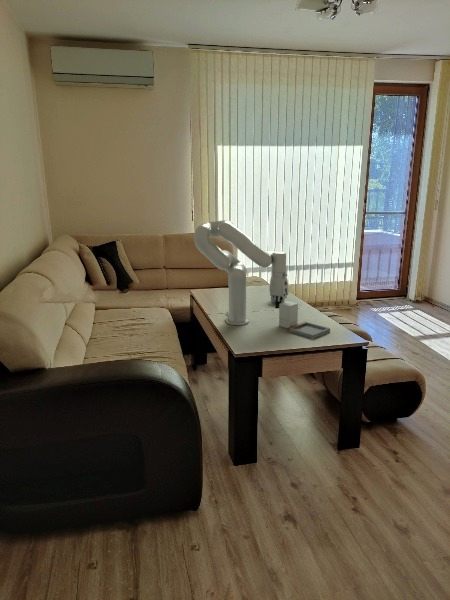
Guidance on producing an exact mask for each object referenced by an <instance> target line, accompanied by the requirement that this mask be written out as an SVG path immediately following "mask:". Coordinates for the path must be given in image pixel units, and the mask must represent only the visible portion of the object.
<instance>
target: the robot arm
mask: <svg viewBox="0 0 450 600" xmlns="http://www.w3.org/2000/svg"><path fill="white" fill-rule="evenodd" d="M217 237H222V238H223V239H225V241H227V242H228V243H229V244H231V245H232V246H234V247H235V248H236V249H238V250H239V251H240V252H241V253H242V254H243V255H244V256H246V257H247V258H248V259H249V260H251V261H252V262H253V263H255V264H256V265H257V266H259V267H261V268H265V269H266V268H268V267H270V266H271V277H270V280H269V289H268V290H269V295H270V297H271V296H272V297H273V298H274V300H275V303H274V304H275V305H274V307H275V309H279V304H280V303H281V301H282V300H283V299H284V300H286V299H287V298H288V295H289V282H288V274H287V253H286V252H285V251H269V250H263V249H262V248H260V247H258V246H257V244H255V243H254V242H253V240H252V239H251V238H250V236H249V235H247V234H246V233H245V232H243V231H241V230H240V229H239V228H238V227H236V226H235V225H234V223H233V222H232V220H229V219H228V220H227V219H224V220H216V221H207V222H203V223H200V224H199V225H198V226H196V228H195V231H194V233H193V242H194V245H195V248H196V249H197V250H198V251H199V252H200V253H201V254H202V255H203V256H204V257H205V258H206V259H207V260H209V261H210V262H211V264H213V265H214V266H215V267H216V268H217V269H218V270H222V271H225V272H226V273H227V275H228V276H227V280H228V284H227V285H228V311H226V313H224V316H225V317H227V318H226V320H225V321H226V322H225V323H226V324H229V325H231V326H243V325H244V326H245V325H247V324H249V323H250V320H249V319H248V318H247V276H248V275H247V273H248V269H247V267H246V265H245V264H244V263H243V262H241V261H240V260H239V259H238V257H236V256H235V255H234V254H232V253H231V252H230V251H229V250H225V249H221V247H219V246H218V245H217V244H215V243H214V242H213V241H212V240H211V238H217Z"/></svg>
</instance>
